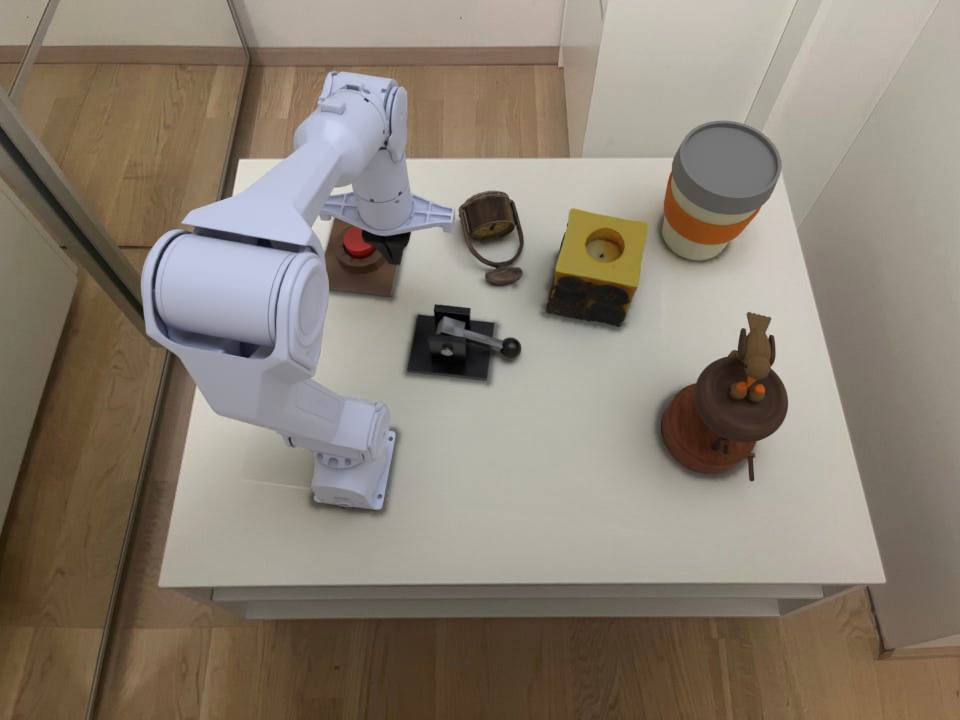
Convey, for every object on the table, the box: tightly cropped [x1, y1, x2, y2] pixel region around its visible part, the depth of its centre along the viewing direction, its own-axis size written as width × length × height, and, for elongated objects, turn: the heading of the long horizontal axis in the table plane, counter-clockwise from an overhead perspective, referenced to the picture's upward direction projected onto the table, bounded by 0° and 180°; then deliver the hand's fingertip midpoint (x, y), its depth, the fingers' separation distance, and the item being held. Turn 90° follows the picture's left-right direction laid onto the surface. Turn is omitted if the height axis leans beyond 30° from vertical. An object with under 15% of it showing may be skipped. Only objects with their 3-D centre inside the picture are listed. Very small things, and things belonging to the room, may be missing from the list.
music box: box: [660, 311, 789, 482], centre depth 71 cm, size 15×11×20 cm
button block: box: [324, 217, 399, 298], centre depth 90 cm, size 12×10×3 cm
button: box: [344, 227, 375, 258], centre depth 88 cm, size 4×4×2 cm
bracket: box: [407, 303, 495, 382], centre depth 82 cm, size 10×8×7 cm
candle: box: [545, 207, 649, 327], centre depth 85 cm, size 10×10×10 cm
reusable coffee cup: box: [661, 120, 782, 261], centre depth 86 cm, size 13×13×15 cm
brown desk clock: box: [458, 190, 525, 285], centre depth 89 cm, size 7×13×10 cm
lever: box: [436, 316, 523, 361], centre depth 82 cm, size 11×3×3 cm, turn 83°
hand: (395, 257), depth 79 cm, fingers closed
